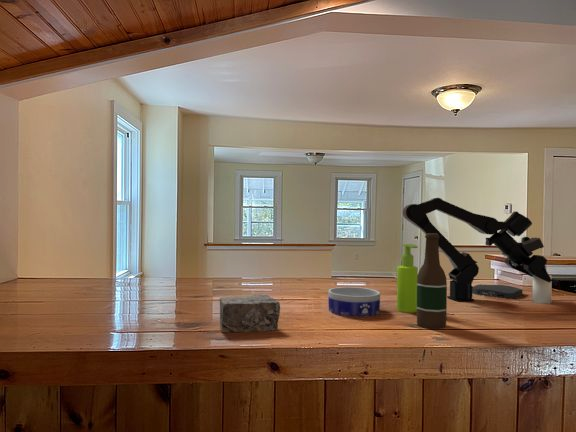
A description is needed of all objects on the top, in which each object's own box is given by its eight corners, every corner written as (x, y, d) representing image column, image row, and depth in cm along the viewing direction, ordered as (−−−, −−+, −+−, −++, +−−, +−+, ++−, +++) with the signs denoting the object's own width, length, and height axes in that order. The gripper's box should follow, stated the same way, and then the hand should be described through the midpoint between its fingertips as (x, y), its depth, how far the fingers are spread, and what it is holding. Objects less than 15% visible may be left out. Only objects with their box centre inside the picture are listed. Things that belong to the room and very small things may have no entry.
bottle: (541, 304, 134) (541, 266, 133) (528, 300, 139) (529, 264, 139) (555, 303, 135) (555, 266, 135) (542, 300, 140) (542, 264, 140)
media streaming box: (525, 295, 150) (525, 287, 150) (511, 300, 140) (511, 292, 140) (484, 289, 161) (484, 282, 161) (468, 294, 151) (468, 286, 151)
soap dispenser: (405, 314, 118) (406, 245, 118) (393, 308, 125) (393, 243, 125) (423, 313, 120) (423, 244, 120) (410, 307, 127) (410, 243, 126)
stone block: (270, 321, 109) (270, 293, 109) (280, 330, 101) (280, 299, 101) (217, 325, 105) (217, 295, 105) (223, 335, 96) (223, 303, 96)
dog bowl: (364, 304, 132) (364, 285, 132) (390, 315, 117) (390, 294, 117) (320, 307, 127) (320, 287, 127) (341, 319, 112) (341, 297, 112)
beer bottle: (422, 320, 112) (423, 232, 112) (451, 325, 107) (452, 233, 107) (410, 325, 106) (411, 233, 106) (441, 331, 101) (442, 234, 101)
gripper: (540, 230, 128) (578, 266, 127) (514, 228, 146) (546, 259, 145) (514, 255, 129) (551, 290, 128) (491, 250, 147) (523, 281, 146)
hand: (543, 279), depth 137 cm, fingers open, 9 cm apart
